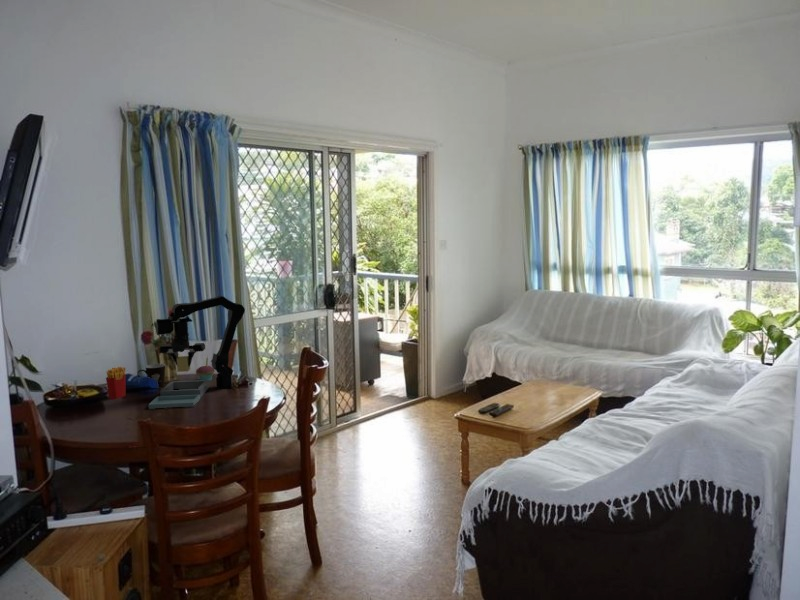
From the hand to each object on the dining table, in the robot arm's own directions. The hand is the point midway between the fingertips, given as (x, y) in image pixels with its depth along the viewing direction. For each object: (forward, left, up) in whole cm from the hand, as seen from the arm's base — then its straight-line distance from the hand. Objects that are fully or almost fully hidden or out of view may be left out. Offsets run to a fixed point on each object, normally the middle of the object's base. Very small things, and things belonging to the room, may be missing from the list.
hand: (183, 366), depth 281 cm
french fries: (+29, +1, -12) cm, 31 cm away
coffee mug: (+18, -14, -12) cm, 26 cm away
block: (0, 0, -2) cm, 2 cm away
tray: (0, +17, -12) cm, 21 cm away
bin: (0, 0, -12) cm, 12 cm away
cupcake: (-4, -22, -12) cm, 25 cm away
